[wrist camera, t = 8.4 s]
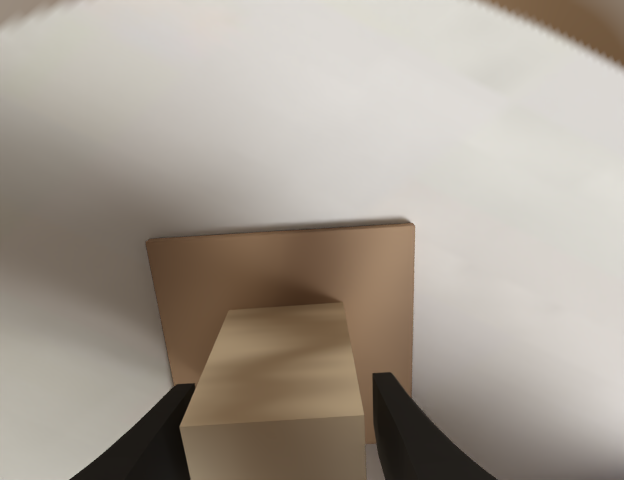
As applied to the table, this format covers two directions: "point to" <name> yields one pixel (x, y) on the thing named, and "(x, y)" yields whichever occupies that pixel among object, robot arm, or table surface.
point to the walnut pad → (291, 292)
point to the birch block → (278, 399)
